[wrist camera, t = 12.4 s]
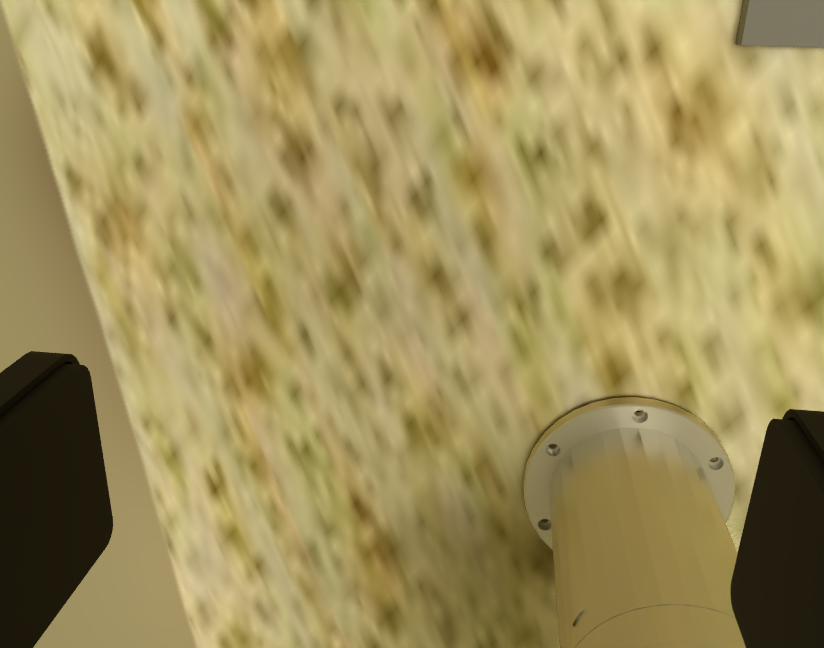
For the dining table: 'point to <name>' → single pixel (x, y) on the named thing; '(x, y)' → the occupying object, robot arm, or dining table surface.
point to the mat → (782, 23)
